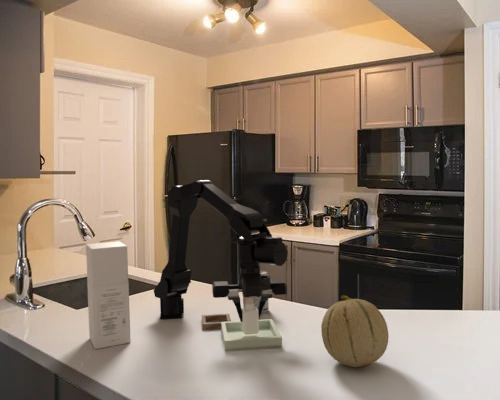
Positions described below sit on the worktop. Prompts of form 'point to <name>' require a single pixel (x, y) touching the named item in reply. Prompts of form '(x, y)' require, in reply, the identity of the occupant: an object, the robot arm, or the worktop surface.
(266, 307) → the energy drink
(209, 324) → the holder
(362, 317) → the cantaloupe
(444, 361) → the worktop surface
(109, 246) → the tall white carton
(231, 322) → the tray
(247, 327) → the salt shaker
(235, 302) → the robot arm
